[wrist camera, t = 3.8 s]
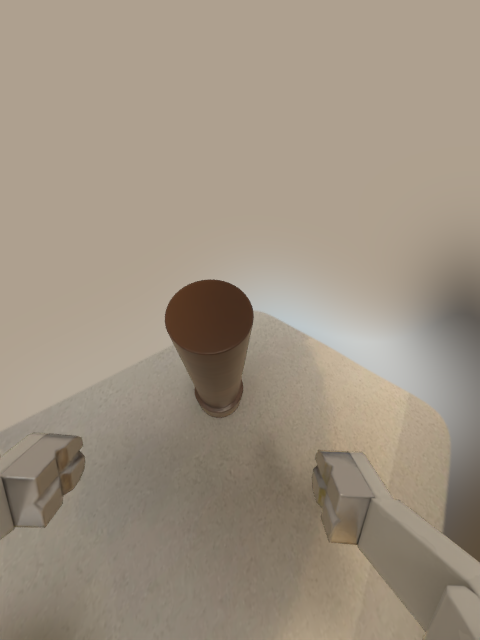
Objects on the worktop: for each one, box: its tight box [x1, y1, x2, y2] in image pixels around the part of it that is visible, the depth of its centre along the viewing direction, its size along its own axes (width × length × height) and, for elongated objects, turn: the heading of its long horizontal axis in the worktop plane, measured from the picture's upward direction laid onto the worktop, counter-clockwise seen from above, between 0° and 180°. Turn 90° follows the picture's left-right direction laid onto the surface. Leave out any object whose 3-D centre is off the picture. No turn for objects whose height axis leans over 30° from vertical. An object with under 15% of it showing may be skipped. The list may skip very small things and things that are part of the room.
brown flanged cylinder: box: [165, 280, 254, 418], centre depth 14 cm, size 4×4×14 cm
